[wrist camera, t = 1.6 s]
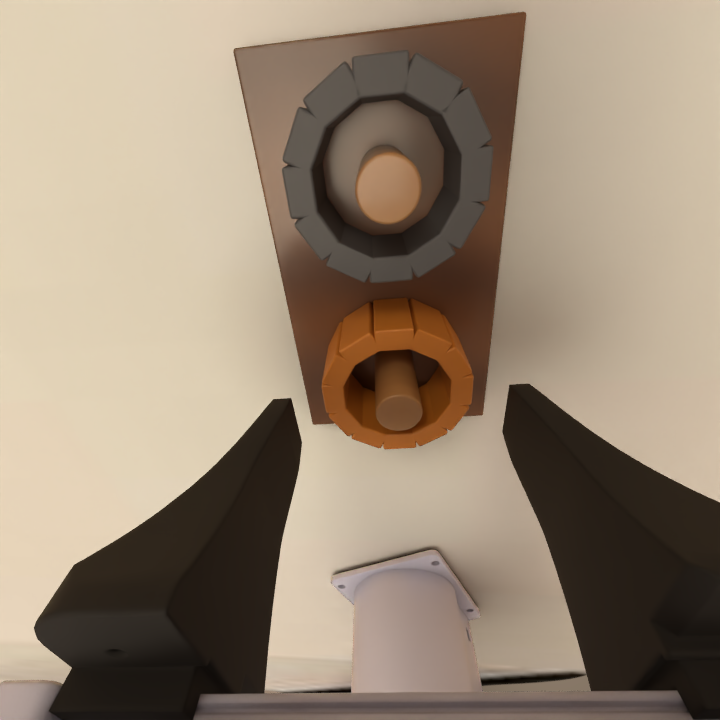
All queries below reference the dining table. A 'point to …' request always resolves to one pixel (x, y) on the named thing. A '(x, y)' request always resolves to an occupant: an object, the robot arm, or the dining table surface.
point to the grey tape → (460, 181)
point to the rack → (386, 196)
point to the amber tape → (385, 333)
